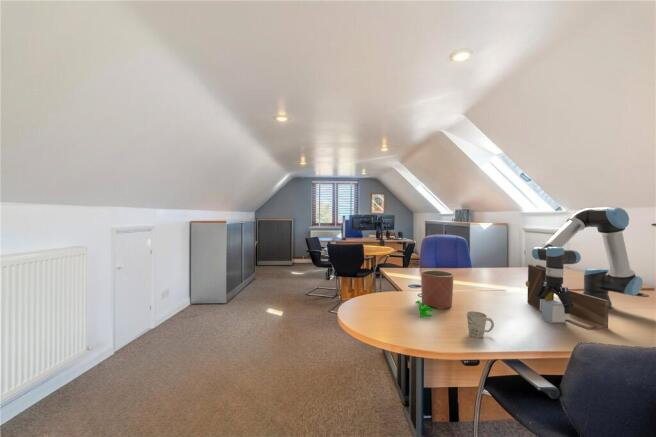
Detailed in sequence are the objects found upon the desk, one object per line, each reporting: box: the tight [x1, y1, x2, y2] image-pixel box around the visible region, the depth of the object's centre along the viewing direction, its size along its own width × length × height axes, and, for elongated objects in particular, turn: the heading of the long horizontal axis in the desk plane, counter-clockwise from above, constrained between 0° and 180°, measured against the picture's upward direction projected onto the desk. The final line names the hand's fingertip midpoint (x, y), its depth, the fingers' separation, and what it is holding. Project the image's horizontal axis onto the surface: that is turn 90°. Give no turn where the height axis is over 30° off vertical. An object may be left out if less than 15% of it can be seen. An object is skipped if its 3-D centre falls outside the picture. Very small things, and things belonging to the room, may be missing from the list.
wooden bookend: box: [565, 289, 610, 330], centre depth 156 cm, size 12×20×14 cm, turn 7°
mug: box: [466, 310, 495, 339], centre depth 137 cm, size 8×13×10 cm, turn 95°
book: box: [525, 264, 555, 313], centre depth 180 cm, size 22×8×25 cm, turn 168°
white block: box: [541, 300, 566, 324], centre depth 157 cm, size 8×6×10 cm
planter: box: [420, 269, 455, 310], centre depth 183 cm, size 19×19×20 cm
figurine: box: [414, 299, 436, 318], centre depth 162 cm, size 6×12×9 cm, turn 98°
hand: (553, 314), depth 157 cm, fingers open, 13 cm apart
